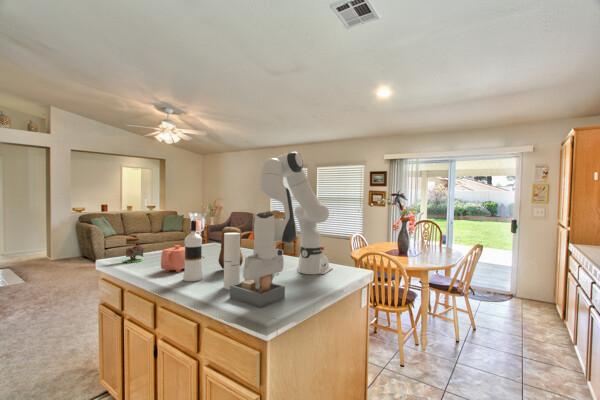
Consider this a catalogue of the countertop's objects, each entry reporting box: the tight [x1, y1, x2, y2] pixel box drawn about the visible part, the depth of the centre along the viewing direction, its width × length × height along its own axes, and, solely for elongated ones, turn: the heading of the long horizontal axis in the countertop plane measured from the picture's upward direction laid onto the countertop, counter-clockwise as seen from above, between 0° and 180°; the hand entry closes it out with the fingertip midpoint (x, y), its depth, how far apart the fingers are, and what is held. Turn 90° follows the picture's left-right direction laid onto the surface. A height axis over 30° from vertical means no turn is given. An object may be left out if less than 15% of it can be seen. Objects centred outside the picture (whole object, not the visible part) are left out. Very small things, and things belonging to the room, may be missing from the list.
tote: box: [229, 281, 286, 309], centre depth 120 cm, size 14×18×5 cm
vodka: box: [182, 220, 204, 283], centre depth 147 cm, size 9×9×30 cm
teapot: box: [160, 244, 185, 273], centre depth 167 cm, size 22×13×14 cm, turn 168°
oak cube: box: [241, 280, 258, 293], centre depth 123 cm, size 5×5×5 cm
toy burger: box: [122, 237, 146, 264], centre depth 187 cm, size 12×13×15 cm
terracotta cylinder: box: [258, 275, 270, 293], centre depth 118 cm, size 5×5×7 cm
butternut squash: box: [218, 226, 244, 270], centre depth 166 cm, size 14×13×25 cm
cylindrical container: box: [223, 233, 241, 290], centre depth 135 cm, size 7×7×25 cm
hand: (264, 286), depth 118 cm, fingers closed on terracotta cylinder, 5 cm apart
